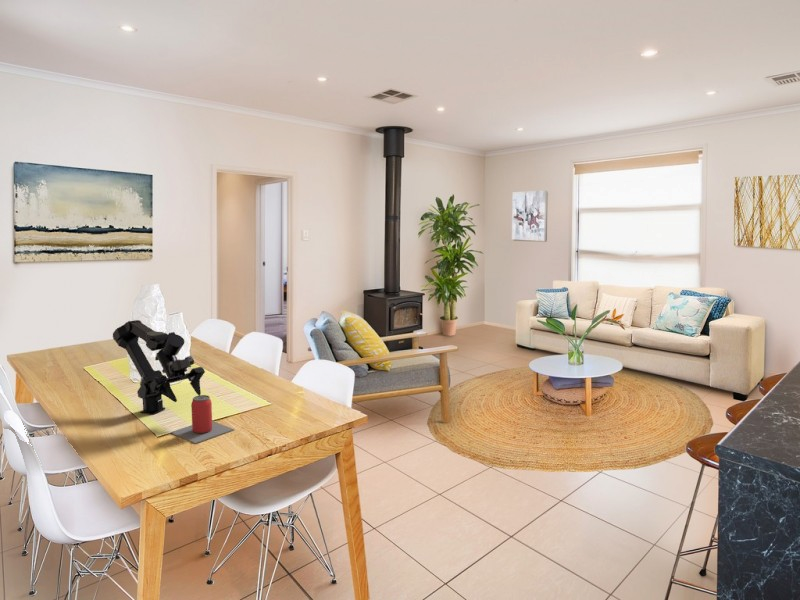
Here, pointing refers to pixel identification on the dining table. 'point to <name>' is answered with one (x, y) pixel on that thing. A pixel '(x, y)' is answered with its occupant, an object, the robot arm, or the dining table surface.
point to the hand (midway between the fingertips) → (188, 398)
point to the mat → (200, 437)
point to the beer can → (201, 414)
